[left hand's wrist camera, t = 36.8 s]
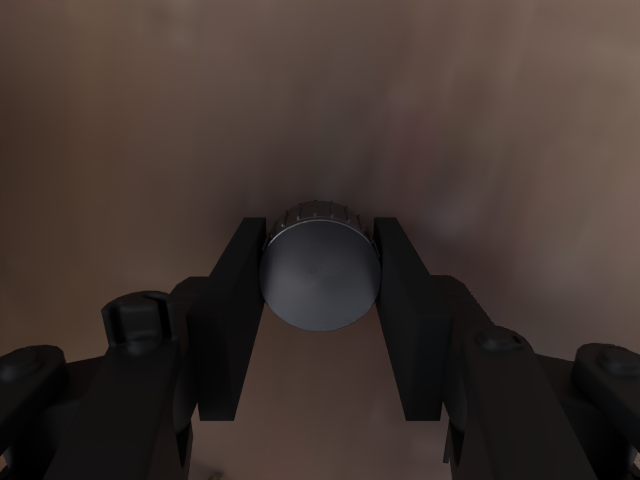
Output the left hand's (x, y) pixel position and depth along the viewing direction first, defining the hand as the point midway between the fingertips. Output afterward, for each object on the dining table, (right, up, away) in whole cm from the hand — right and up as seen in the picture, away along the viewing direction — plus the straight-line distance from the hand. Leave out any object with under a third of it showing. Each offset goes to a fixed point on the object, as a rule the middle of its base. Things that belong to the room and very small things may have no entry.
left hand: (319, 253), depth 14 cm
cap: (0, -1, -2) cm, 2 cm away
